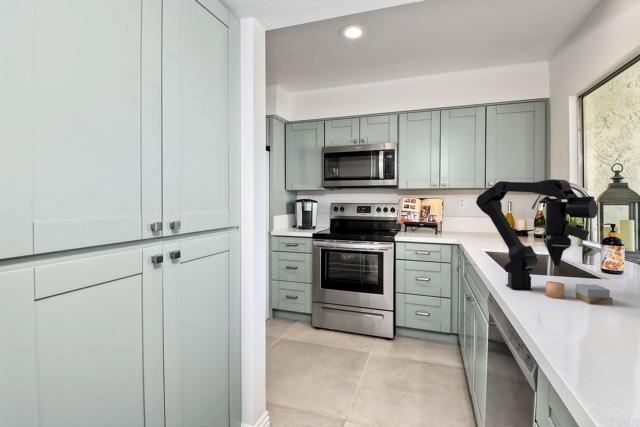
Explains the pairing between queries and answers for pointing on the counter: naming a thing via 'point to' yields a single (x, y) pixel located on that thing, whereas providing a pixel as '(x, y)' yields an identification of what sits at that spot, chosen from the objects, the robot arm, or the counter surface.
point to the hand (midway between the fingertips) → (555, 263)
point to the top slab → (592, 290)
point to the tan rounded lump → (555, 290)
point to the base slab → (594, 300)
